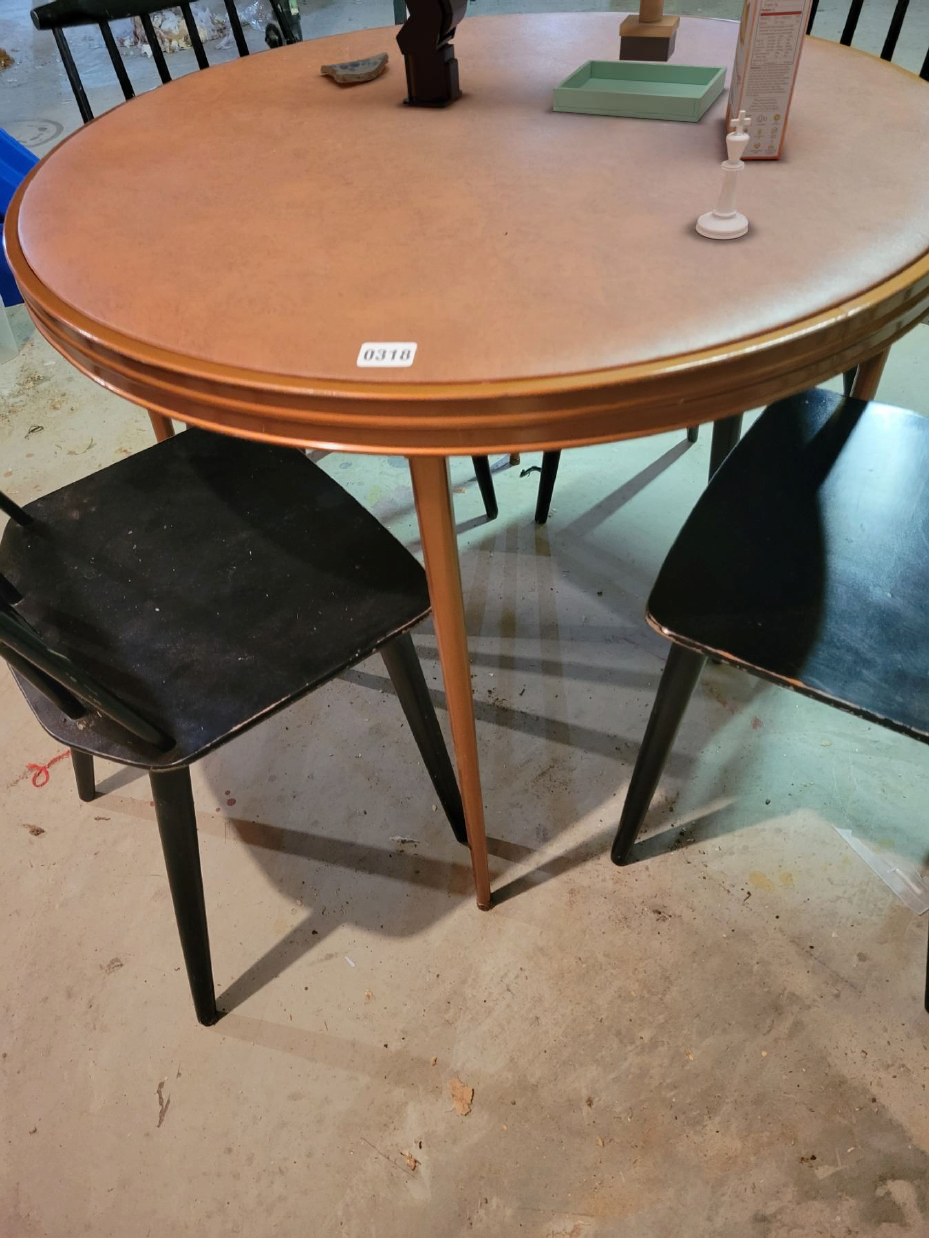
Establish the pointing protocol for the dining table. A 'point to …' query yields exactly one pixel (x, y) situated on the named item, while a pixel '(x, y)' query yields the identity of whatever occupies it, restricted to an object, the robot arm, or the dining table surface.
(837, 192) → the dining table surface
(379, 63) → the ceramic fragment
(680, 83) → the tray
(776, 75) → the cracker box
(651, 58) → the scrub brush
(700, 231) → the chess piece
